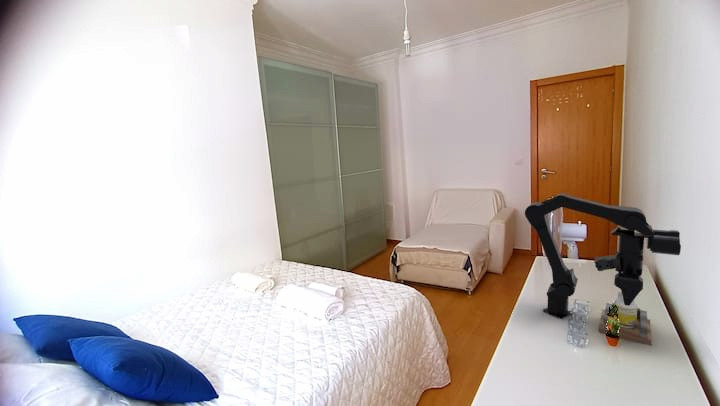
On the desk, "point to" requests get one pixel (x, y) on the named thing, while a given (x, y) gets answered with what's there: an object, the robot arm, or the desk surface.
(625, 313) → the supplement bottle
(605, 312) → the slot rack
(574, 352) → the desk surface
